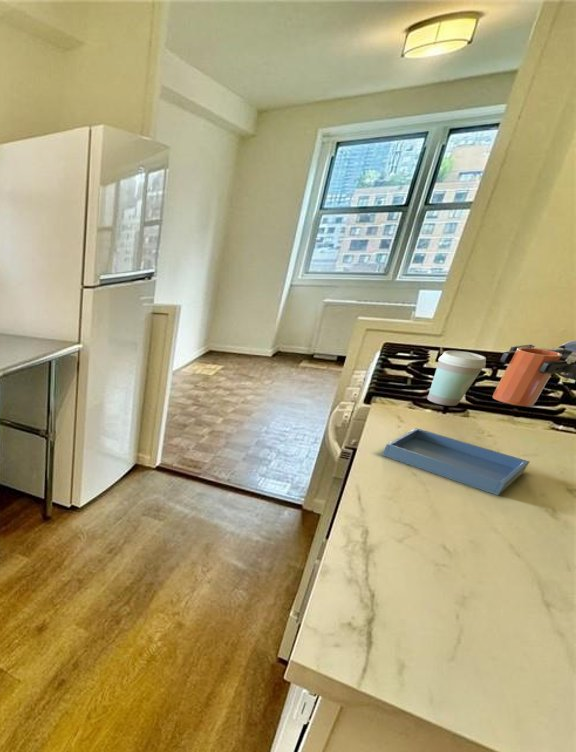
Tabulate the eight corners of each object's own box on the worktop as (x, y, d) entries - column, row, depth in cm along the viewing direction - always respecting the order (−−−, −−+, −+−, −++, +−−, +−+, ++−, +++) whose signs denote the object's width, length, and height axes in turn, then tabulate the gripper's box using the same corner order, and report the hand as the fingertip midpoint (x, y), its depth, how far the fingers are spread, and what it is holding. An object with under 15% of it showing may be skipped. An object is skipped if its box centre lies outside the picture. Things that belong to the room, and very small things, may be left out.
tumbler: (537, 402, 96) (566, 353, 91) (528, 408, 93) (557, 358, 88) (497, 393, 100) (522, 345, 96) (487, 399, 97) (513, 350, 93)
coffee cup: (459, 410, 116) (484, 362, 110) (415, 400, 122) (436, 353, 116) (469, 403, 120) (493, 356, 115) (426, 392, 126) (447, 348, 121)
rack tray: (522, 473, 90) (530, 461, 89) (497, 495, 83) (505, 483, 82) (411, 438, 103) (416, 427, 101) (381, 455, 96) (386, 444, 95)
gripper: (559, 330, 99) (492, 333, 97) (657, 349, 87) (582, 354, 84) (539, 365, 103) (474, 369, 100) (630, 389, 90) (558, 394, 88)
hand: (523, 362), depth 92 cm, fingers closed on tumbler, 6 cm apart
